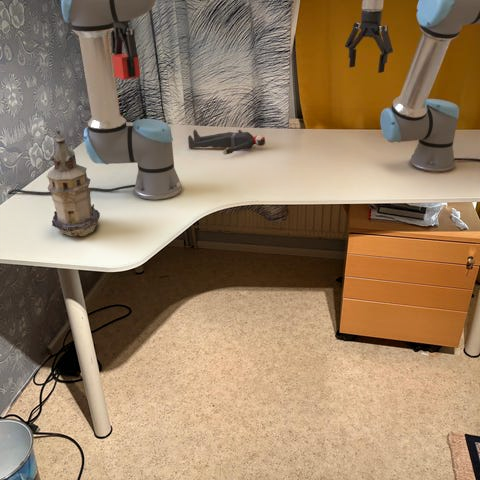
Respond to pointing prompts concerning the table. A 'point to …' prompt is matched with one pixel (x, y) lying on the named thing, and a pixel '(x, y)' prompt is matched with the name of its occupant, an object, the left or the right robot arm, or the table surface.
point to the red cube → (124, 66)
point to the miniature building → (70, 193)
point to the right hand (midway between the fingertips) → (366, 69)
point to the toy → (226, 141)
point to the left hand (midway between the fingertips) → (126, 74)
